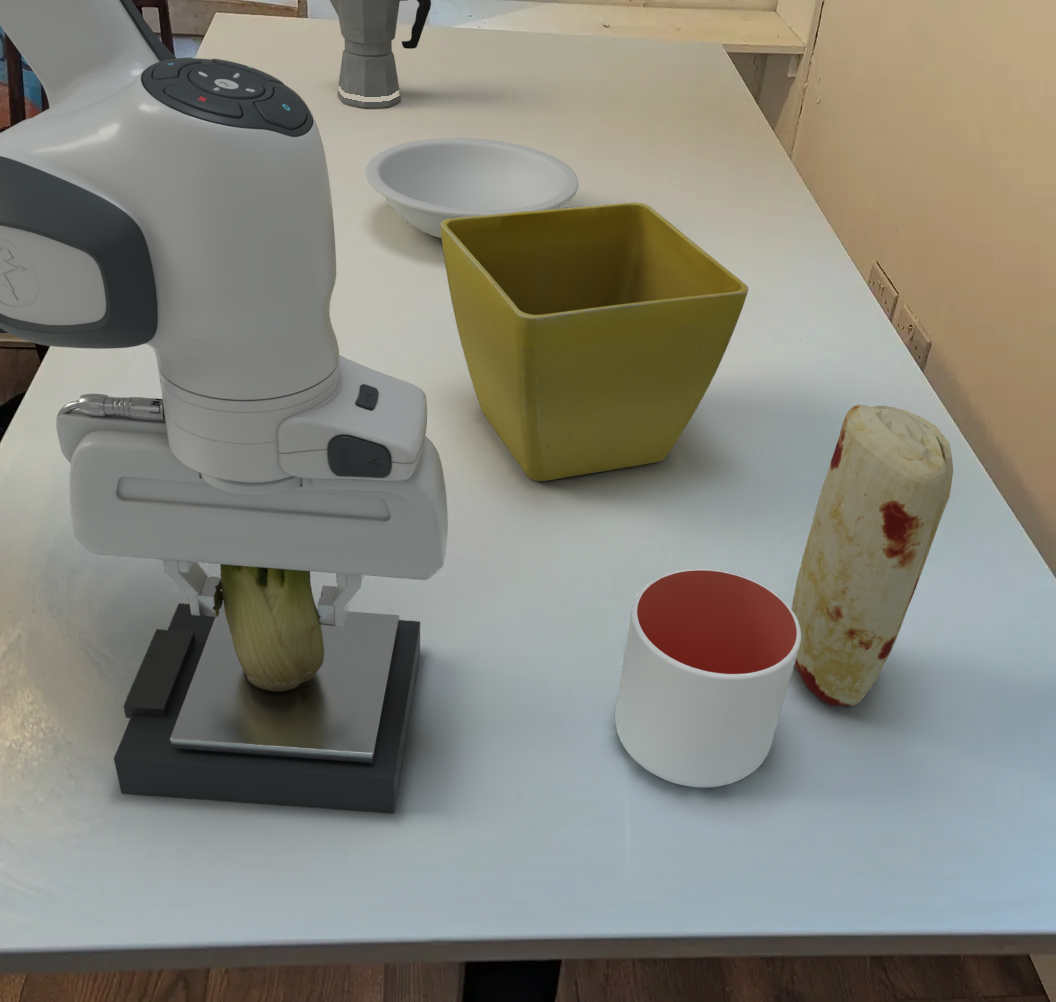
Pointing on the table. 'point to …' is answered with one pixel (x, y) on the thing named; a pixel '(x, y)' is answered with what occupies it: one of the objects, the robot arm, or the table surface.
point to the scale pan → (293, 697)
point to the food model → (868, 547)
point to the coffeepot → (372, 48)
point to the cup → (705, 676)
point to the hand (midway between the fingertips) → (271, 614)
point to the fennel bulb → (273, 625)
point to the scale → (251, 776)
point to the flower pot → (587, 331)
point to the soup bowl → (467, 180)
